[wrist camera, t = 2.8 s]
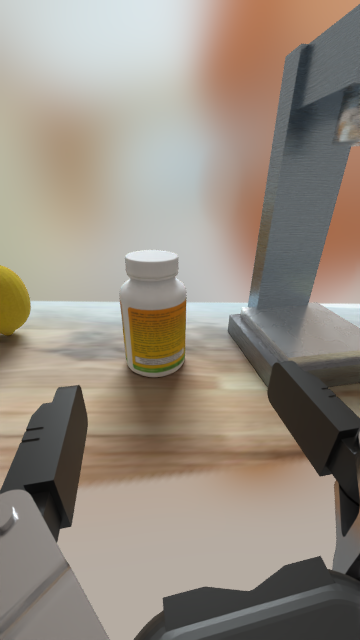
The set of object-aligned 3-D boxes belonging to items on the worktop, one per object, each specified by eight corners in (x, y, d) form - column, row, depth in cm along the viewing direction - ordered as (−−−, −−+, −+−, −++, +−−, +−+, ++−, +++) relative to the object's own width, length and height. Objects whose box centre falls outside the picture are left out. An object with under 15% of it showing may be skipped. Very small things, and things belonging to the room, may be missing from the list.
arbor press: (272, 394, 20) (391, -91, 9) (224, 326, 29) (254, 53, 18) (427, 373, 22) (665, -25, 11) (336, 317, 32) (420, 71, 21)
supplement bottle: (197, 363, 23) (202, 256, 19) (147, 388, 20) (139, 269, 16) (162, 338, 27) (160, 244, 22) (116, 356, 24) (102, 253, 19)
